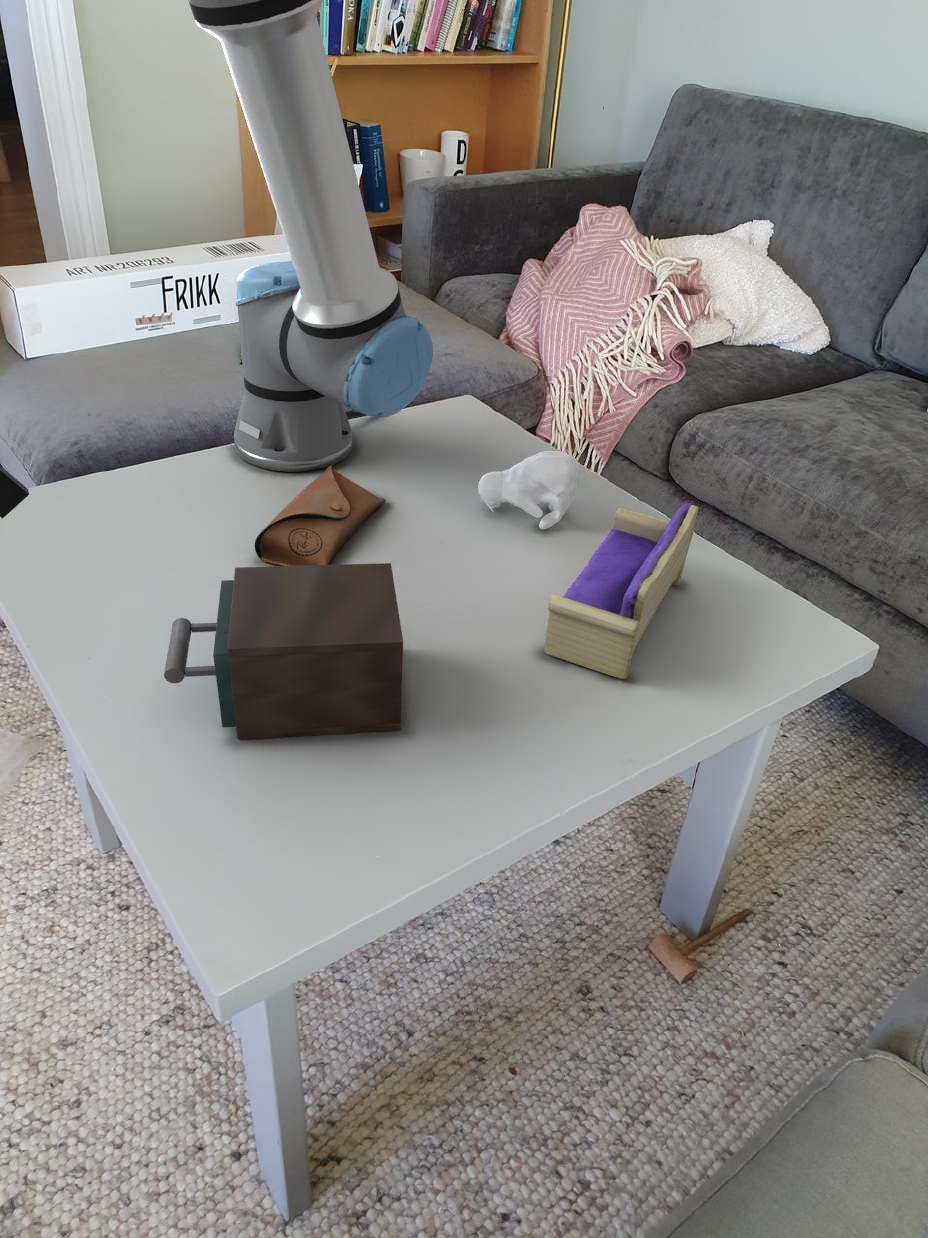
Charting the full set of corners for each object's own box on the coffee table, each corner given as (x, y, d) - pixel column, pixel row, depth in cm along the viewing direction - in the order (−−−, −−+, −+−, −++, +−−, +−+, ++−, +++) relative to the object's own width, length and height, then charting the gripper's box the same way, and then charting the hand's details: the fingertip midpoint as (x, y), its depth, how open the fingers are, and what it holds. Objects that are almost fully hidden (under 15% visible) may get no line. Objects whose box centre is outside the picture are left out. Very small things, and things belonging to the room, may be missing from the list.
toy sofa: (608, 557, 103) (623, 475, 97) (683, 579, 100) (703, 497, 94) (538, 657, 88) (550, 567, 82) (624, 687, 85) (644, 596, 79)
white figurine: (573, 468, 101) (469, 456, 104) (570, 535, 106) (471, 522, 109) (584, 445, 106) (486, 435, 109) (581, 511, 111) (487, 499, 114)
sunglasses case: (327, 573, 96) (295, 519, 93) (276, 589, 99) (244, 537, 97) (389, 497, 110) (362, 448, 107) (343, 513, 113) (316, 466, 111)
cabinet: (237, 740, 76) (227, 649, 70) (243, 653, 85) (234, 567, 80) (400, 730, 78) (403, 642, 73) (389, 647, 87) (391, 562, 82)
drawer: (168, 731, 75) (155, 656, 71) (180, 652, 83) (169, 581, 79) (373, 719, 78) (373, 647, 73) (365, 644, 86) (365, 575, 81)
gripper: (-317, 274, 62) (-22, 511, 75) (-378, 294, 51) (-21, 566, 65) (-232, 200, 62) (46, 450, 76) (-275, 205, 52) (58, 494, 65)
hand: (15, 503), depth 70 cm, fingers closed
